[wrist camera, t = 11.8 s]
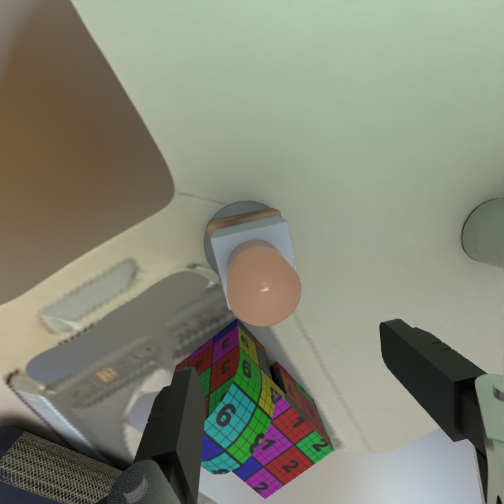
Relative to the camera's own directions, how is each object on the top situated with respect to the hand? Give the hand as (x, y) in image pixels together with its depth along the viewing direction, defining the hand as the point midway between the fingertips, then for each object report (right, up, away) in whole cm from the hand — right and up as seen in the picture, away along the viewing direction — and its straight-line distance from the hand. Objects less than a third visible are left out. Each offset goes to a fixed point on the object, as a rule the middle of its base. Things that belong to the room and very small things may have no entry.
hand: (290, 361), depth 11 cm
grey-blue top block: (-2, +4, +18) cm, 18 cm away
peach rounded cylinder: (-1, +3, +13) cm, 13 cm away
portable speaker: (-30, -27, +29) cm, 50 cm away
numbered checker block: (-3, -19, +30) cm, 36 cm away
